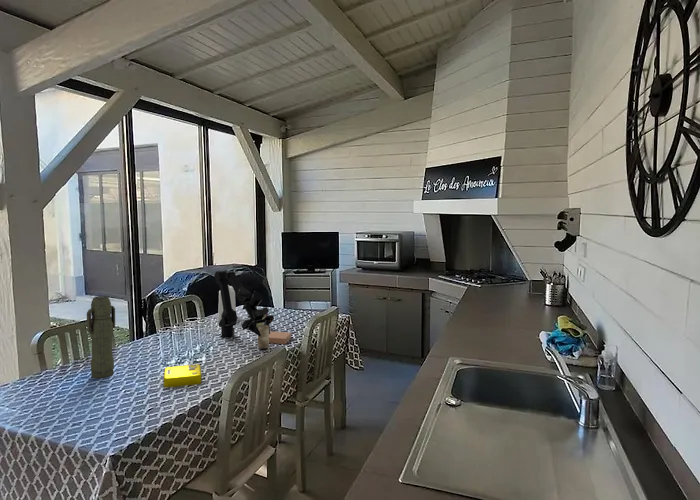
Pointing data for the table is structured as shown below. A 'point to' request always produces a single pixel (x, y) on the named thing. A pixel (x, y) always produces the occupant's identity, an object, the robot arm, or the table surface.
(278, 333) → the base
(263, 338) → the post
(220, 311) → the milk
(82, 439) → the table surface
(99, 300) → the thermos
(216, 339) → the table surface
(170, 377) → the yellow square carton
